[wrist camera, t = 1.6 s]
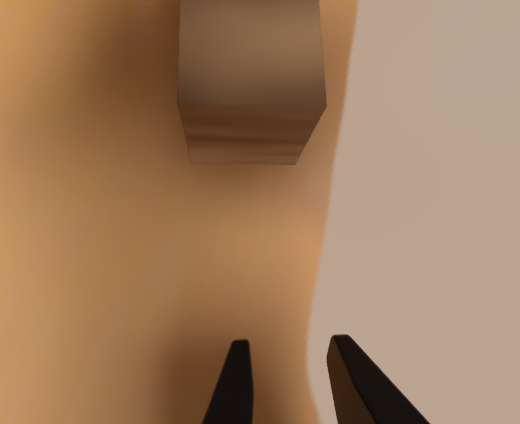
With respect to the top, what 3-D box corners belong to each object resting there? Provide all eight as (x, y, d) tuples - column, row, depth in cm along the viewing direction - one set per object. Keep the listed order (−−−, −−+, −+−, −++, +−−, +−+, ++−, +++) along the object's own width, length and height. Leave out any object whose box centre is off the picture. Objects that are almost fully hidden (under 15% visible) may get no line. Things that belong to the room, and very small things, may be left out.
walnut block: (294, 165, 25) (326, 106, 17) (192, 164, 24) (177, 102, 16) (285, -4, 28) (309, -119, 20) (195, -10, 27) (184, -131, 20)
